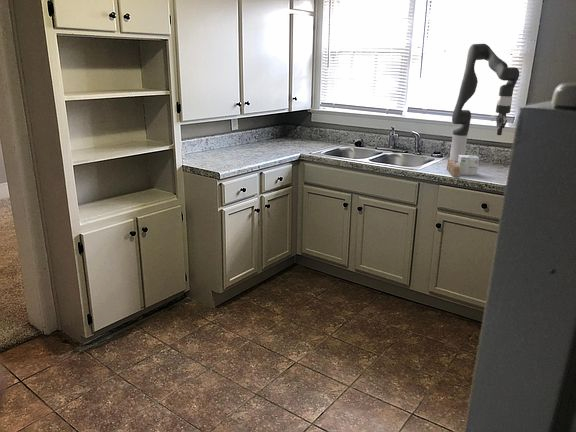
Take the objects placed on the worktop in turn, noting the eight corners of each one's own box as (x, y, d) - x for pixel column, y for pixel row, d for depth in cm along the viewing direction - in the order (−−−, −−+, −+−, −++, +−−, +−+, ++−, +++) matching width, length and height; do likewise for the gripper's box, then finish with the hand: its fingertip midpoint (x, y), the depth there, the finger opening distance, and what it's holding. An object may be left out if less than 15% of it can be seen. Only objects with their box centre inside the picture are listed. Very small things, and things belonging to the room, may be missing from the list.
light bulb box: (474, 172, 288) (476, 155, 284) (477, 175, 282) (480, 157, 278) (455, 172, 289) (458, 154, 285) (458, 174, 282) (461, 156, 279)
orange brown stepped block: (446, 169, 295) (447, 159, 293) (451, 169, 295) (453, 159, 293) (453, 177, 277) (454, 166, 275) (458, 177, 276) (459, 167, 274)
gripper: (493, 102, 276) (489, 133, 282) (500, 105, 264) (495, 136, 270) (507, 103, 276) (502, 133, 281) (514, 105, 263) (509, 137, 269)
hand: (499, 135), depth 275 cm, fingers closed
